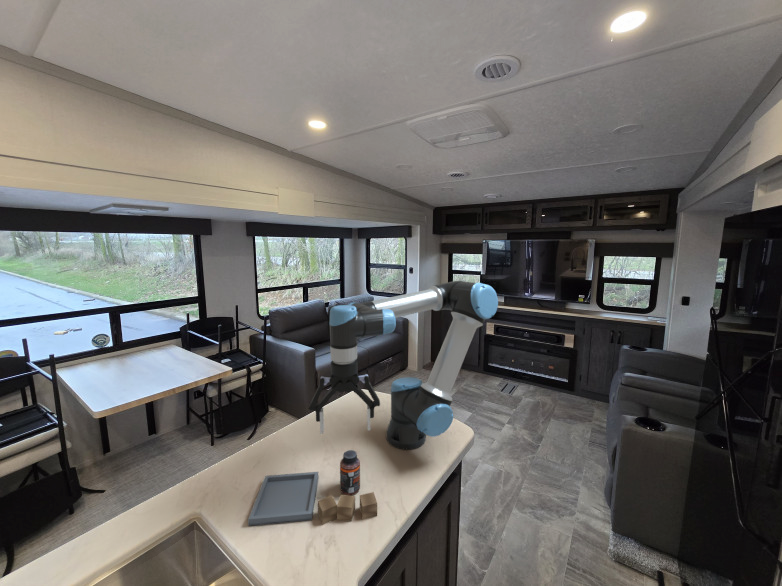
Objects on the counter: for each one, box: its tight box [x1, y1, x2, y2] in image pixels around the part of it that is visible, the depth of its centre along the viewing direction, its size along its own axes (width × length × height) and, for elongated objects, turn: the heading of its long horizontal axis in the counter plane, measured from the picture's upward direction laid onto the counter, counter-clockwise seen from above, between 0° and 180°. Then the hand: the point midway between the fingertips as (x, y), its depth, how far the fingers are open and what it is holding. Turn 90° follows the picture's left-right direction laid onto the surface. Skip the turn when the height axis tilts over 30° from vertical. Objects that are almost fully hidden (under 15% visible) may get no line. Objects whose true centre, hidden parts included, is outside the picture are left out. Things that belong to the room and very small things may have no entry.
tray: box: [247, 471, 320, 527], centre depth 89 cm, size 16×16×2 cm
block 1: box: [317, 494, 338, 525], centre depth 83 cm, size 4×4×4 cm
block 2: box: [336, 494, 356, 522], centre depth 84 cm, size 4×4×4 cm
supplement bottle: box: [339, 449, 361, 496], centre depth 93 cm, size 6×6×11 cm
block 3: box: [359, 491, 378, 520], centre depth 85 cm, size 4×4×4 cm
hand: (345, 429), depth 91 cm, fingers open, 13 cm apart
